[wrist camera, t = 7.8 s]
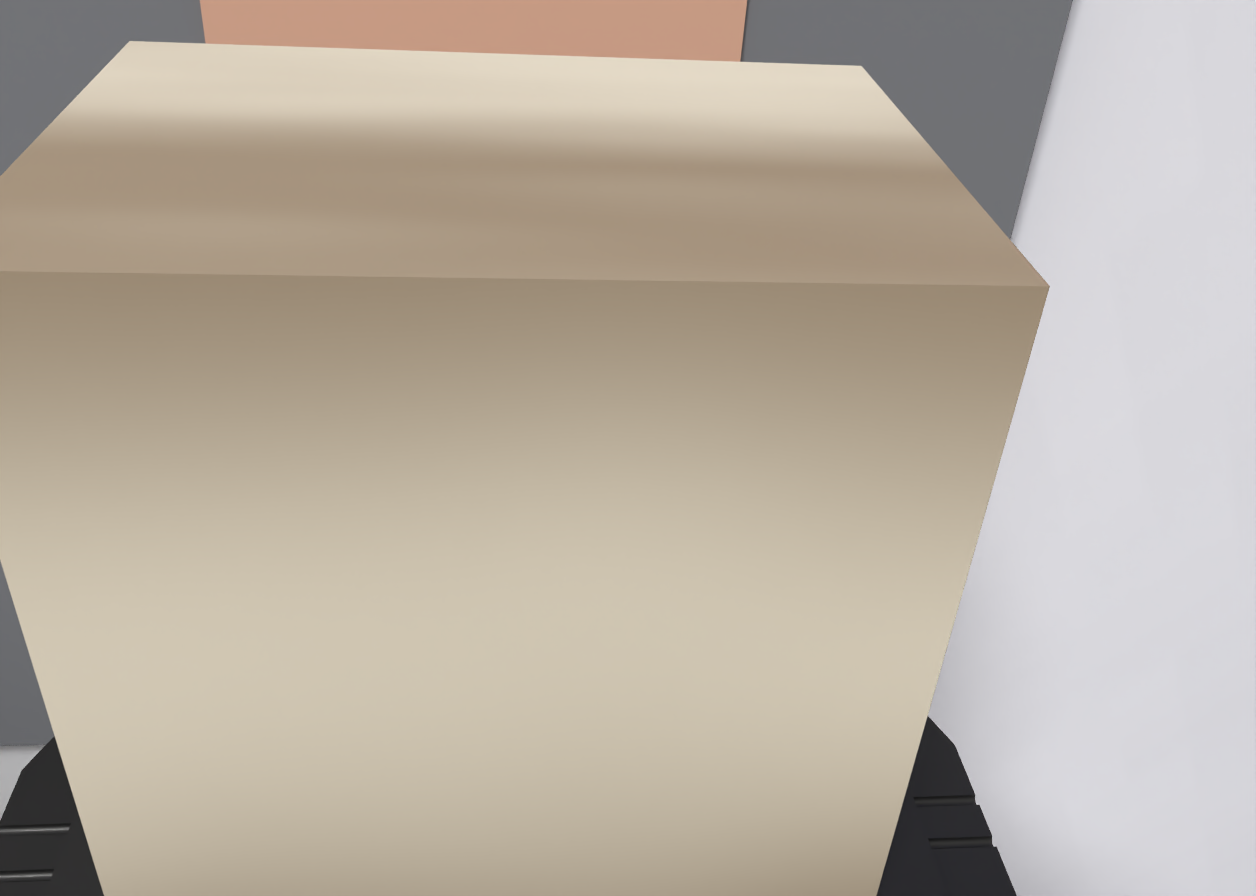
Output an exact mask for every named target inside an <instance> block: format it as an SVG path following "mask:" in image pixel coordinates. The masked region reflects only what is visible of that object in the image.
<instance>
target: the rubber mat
mask: <svg viewBox="0 0 1256 896" xmlns="http://www.w3.org/2000/svg"><path fill="white" fill-rule="evenodd" d="M1072 1H1073V0H0V176H1V175H2V174H3V173H4V172H5V171H6V170H7V169H8V168H9V167H10V165H11V164H12V163H13V162H14V161H15V160H16V159H17V158H18V157H19V156H20V155H21V154H22V153H23V152H24V151H25V150H26V149H27V148H28V147H29V146H30V145H31V144H32V143H33V141H34V140H35V139H36V138H37V137H38V136H39V135H40V134H41V133H42V132H43V131H44V130H45V129H46V128H47V127H48V126H49V125H50V124H51V123H52V122H53V121H54V120H55V118H56V117H57V116H58V115H59V114H60V113H61V112H62V111H63V110H64V109H65V108H66V107H67V106H68V105H69V104H70V103H71V102H72V101H73V100H74V99H75V98H76V97H77V95H78V94H79V93H80V92H81V91H82V90H83V89H84V88H85V87H86V86H87V85H88V84H89V83H90V82H91V81H92V80H93V79H94V78H95V77H96V76H97V75H98V74H99V72H100V71H101V70H102V69H103V68H104V67H105V66H106V65H107V64H108V63H109V62H110V61H111V60H112V59H113V58H114V57H115V56H116V55H117V54H118V53H119V52H120V51H121V49H122V48H123V47H124V46H125V45H126V44H127V43H128V42H129V41H145V42H174V43H204V44H233V45H262V46H292V47H321V48H351V49H380V50H409V51H439V52H468V53H498V54H527V55H556V56H586V57H615V58H644V59H674V60H703V61H733V62H762V63H791V64H821V65H850V66H862V67H863V68H864V69H865V71H866V72H867V73H868V74H869V75H870V76H871V78H872V79H873V80H874V81H875V82H876V83H877V85H878V86H879V87H880V88H881V89H882V90H883V92H884V93H885V94H886V95H887V96H888V98H889V99H890V100H891V101H892V102H893V103H894V105H895V106H896V107H897V108H898V109H899V110H900V112H901V113H902V114H903V115H904V116H905V117H906V119H907V120H908V121H909V122H910V123H911V124H912V126H913V127H914V128H915V129H916V130H917V131H918V133H919V134H920V135H921V136H922V137H923V139H924V140H925V141H926V142H927V143H928V144H929V146H930V147H931V148H932V149H933V150H934V151H935V153H936V154H937V155H938V156H939V157H940V158H941V160H942V161H943V162H944V163H945V164H946V165H947V167H948V168H949V169H950V170H951V171H952V172H953V174H954V175H955V176H956V177H957V178H958V180H959V181H960V182H961V183H962V184H963V185H964V187H965V188H966V189H967V190H968V191H969V192H970V194H971V195H972V196H973V197H974V198H975V199H976V201H977V202H978V203H979V204H980V205H981V206H982V208H983V209H984V210H985V211H986V212H987V213H988V215H989V216H990V217H991V218H992V219H993V221H994V222H995V223H996V224H997V225H998V226H999V228H1000V229H1001V230H1002V231H1003V232H1004V233H1005V235H1006V236H1007V237H1008V238H1009V239H1010V238H1011V234H1012V230H1013V227H1014V223H1015V219H1016V215H1017V211H1018V207H1019V204H1020V200H1021V196H1022V192H1023V188H1024V184H1025V181H1026V177H1027V173H1028V169H1029V165H1030V162H1031V158H1032V154H1033V150H1034V146H1035V142H1036V139H1037V135H1038V131H1039V127H1040V123H1041V119H1042V116H1043V112H1044V108H1045V104H1046V100H1047V96H1048V93H1049V89H1050V85H1051V81H1052V77H1053V73H1054V70H1055V66H1056V62H1057V58H1058V54H1059V50H1060V47H1061V43H1062V39H1063V35H1064V31H1065V27H1066V24H1067V20H1068V16H1069V12H1070V8H1071V4H1072ZM54 736H55V735H54V732H53V729H52V726H51V723H50V719H49V716H48V713H47V710H46V706H45V703H44V700H43V697H42V693H41V690H40V687H39V684H38V681H37V677H36V674H35V671H34V668H33V664H32V661H31V658H30V655H29V651H28V648H27V645H26V642H25V638H24V635H23V632H22V629H21V626H20V622H19V619H18V616H17V613H16V609H15V606H14V603H13V600H12V596H11V593H10V590H9V587H8V584H7V580H6V577H5V574H4V571H3V567H2V564H1V561H0V746H12V745H46V744H47V743H48V742H49V741H50V740H51V739H52V738H53V737H54Z"/></svg>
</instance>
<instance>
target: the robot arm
mask: <svg viewBox="0 0 1256 896" xmlns="http://www.w3.org/2000/svg"><path fill="white" fill-rule="evenodd" d="M0 896H104V894H103V891H102V887H101V884H100V881H99V878H98V875H97V871H96V868H95V865H94V862H93V858H92V855H91V852H90V849H89V845H88V842H87V839H86V836H85V832H84V829H83V826H82V823H81V820H80V816H79V813H78V810H77V807H76V803H75V800H74V797H73V794H72V790H71V787H70V784H69V781H68V778H67V774H66V771H65V768H64V765H63V761H62V758H61V755H60V752H59V748H58V745H57V742H56V739H55V736H54V737H53V738H52V739H51V740H50V741H49V742H48V743H47V744H46V745H45V746H44V748H43V749H42V750H41V751H40V752H39V753H38V754H37V755H36V756H35V757H34V758H33V759H32V760H31V761H30V762H29V763H28V764H27V765H26V767H25V768H24V769H23V770H22V771H21V774H20V776H19V778H18V781H17V783H16V785H15V788H14V790H13V792H12V795H11V797H10V799H9V802H8V804H7V806H6V809H5V811H4V813H3V816H2V818H1V820H0ZM876 896H1016V893H1015V891H1014V888H1013V886H1012V883H1011V881H1010V878H1009V876H1008V874H1007V871H1006V869H1005V866H1004V864H1003V861H1002V859H1001V857H1000V854H999V852H998V849H997V847H993V845H992V835H991V832H990V830H989V827H988V825H987V822H986V820H985V818H984V815H983V813H982V810H981V808H980V805H976V803H975V793H974V791H973V788H972V786H971V783H970V781H969V779H968V776H967V774H966V771H965V769H964V766H963V764H962V762H961V759H960V757H959V754H958V752H957V749H956V747H955V745H954V744H953V743H952V742H951V741H950V739H949V738H948V737H947V736H946V735H945V734H944V733H943V732H942V731H941V730H940V729H939V728H938V726H937V725H936V724H935V723H934V722H933V721H932V720H931V719H930V718H929V717H928V716H927V720H926V723H925V727H924V730H923V734H922V737H921V741H920V744H919V748H918V751H917V755H916V758H915V762H914V765H913V769H912V772H911V776H910V779H909V783H908V786H907V790H906V793H905V797H904V800H903V804H902V807H901V811H900V814H899V818H898V822H897V825H896V829H895V832H894V836H893V839H892V843H891V846H890V850H889V853H888V857H887V860H886V864H885V867H884V871H883V874H882V878H881V881H880V885H879V888H878V892H877V895H876Z"/></svg>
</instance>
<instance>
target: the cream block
mask: <svg viewBox="0 0 1256 896" xmlns="http://www.w3.org/2000/svg"><path fill="white" fill-rule="evenodd" d="M1049 287H1050V286H1049V285H1048V284H1047V283H1046V281H1045V280H1044V279H1043V278H1042V277H1041V276H1040V274H1039V273H1038V272H1037V271H1036V270H1035V269H1034V267H1033V266H1032V265H1031V264H1030V263H1029V262H1028V260H1027V259H1026V258H1025V257H1024V256H1023V254H1022V253H1021V252H1020V251H1019V250H1018V249H1017V247H1016V246H1015V245H1014V244H1013V243H1012V242H1011V240H1010V239H1009V238H1008V237H1007V236H1006V235H1005V233H1004V232H1003V231H1002V230H1001V229H1000V228H999V226H998V225H997V224H996V223H995V222H994V221H993V219H992V218H991V217H990V216H989V215H988V213H987V212H986V211H985V210H984V209H983V208H982V206H981V205H980V204H979V203H978V202H977V201H976V199H975V198H974V197H973V196H972V195H971V194H970V192H969V191H968V190H967V189H966V188H965V187H964V185H963V184H962V183H961V182H960V181H959V180H958V178H957V177H956V176H955V175H954V174H953V172H952V171H951V170H950V169H949V168H948V167H947V165H946V164H945V163H944V162H943V161H942V160H941V158H940V157H939V156H938V155H937V154H936V153H935V151H934V150H933V149H932V148H931V147H930V146H929V144H928V143H927V142H926V141H925V140H924V139H923V137H922V136H921V135H920V134H919V133H918V131H917V130H916V129H915V128H914V127H913V126H912V124H911V123H910V122H909V121H908V120H907V119H906V117H905V116H904V115H903V114H902V113H901V112H900V110H899V109H898V108H897V107H896V106H895V105H894V103H893V102H892V101H891V100H890V99H889V98H888V96H887V95H886V94H885V93H884V92H883V90H882V89H881V88H880V87H879V86H878V85H877V83H876V82H875V81H874V80H873V79H872V78H871V76H870V75H869V74H868V73H867V72H866V71H865V69H864V68H863V67H862V66H850V65H821V64H791V63H762V62H733V61H703V60H674V59H644V58H615V57H586V56H556V55H527V54H498V53H468V52H439V51H409V50H380V49H351V48H321V47H292V46H262V45H233V44H204V43H174V42H145V41H129V42H128V43H127V44H126V45H125V46H124V47H123V48H122V49H121V51H120V52H119V53H118V54H117V55H116V56H115V57H114V58H113V59H112V60H111V61H110V62H109V63H108V64H107V65H106V66H105V67H104V68H103V69H102V70H101V71H100V72H99V74H98V75H97V76H96V77H95V78H94V79H93V80H92V81H91V82H90V83H89V84H88V85H87V86H86V87H85V88H84V89H83V90H82V91H81V92H80V93H79V94H78V95H77V97H76V98H75V99H74V100H73V101H72V102H71V103H70V104H69V105H68V106H67V107H66V108H65V109H64V110H63V111H62V112H61V113H60V114H59V115H58V116H57V117H56V118H55V120H54V121H53V122H52V123H51V124H50V125H49V126H48V127H47V128H46V129H45V130H44V131H43V132H42V133H41V134H40V135H39V136H38V137H37V138H36V139H35V140H34V141H33V143H32V144H31V145H30V146H29V147H28V148H27V149H26V150H25V151H24V152H23V153H22V154H21V155H20V156H19V157H18V158H17V159H16V160H15V161H14V162H13V163H12V164H11V165H10V167H9V168H8V169H7V170H6V171H5V172H4V173H3V174H2V175H1V176H0V561H1V564H2V567H3V571H4V574H5V577H6V580H7V584H8V587H9V590H10V593H11V596H12V600H13V603H14V606H15V609H16V613H17V616H18V619H19V622H20V626H21V629H22V632H23V635H24V638H25V642H26V645H27V648H28V651H29V655H30V658H31V661H32V664H33V668H34V671H35V674H36V677H37V681H38V684H39V687H40V690H41V693H42V697H43V700H44V703H45V706H46V710H47V713H48V716H49V719H50V723H51V726H52V729H53V732H54V735H55V739H56V742H57V745H58V748H59V752H60V755H61V758H62V761H63V765H64V768H65V771H66V774H67V778H68V781H69V784H70V787H71V790H72V794H73V797H74V800H75V803H76V807H77V810H78V813H79V816H80V820H81V823H82V826H83V829H84V832H85V836H86V839H87V842H88V845H89V849H90V852H91V855H92V858H93V862H94V865H95V868H96V871H97V875H98V878H99V881H100V884H101V887H102V891H103V894H104V896H876V895H877V892H878V888H879V885H880V881H881V878H882V874H883V871H884V867H885V864H886V860H887V857H888V853H889V850H890V846H891V843H892V839H893V836H894V832H895V829H896V825H897V822H898V818H899V814H900V811H901V807H902V804H903V800H904V797H905V793H906V790H907V786H908V783H909V779H910V776H911V772H912V769H913V765H914V762H915V758H916V755H917V751H918V748H919V744H920V741H921V737H922V734H923V730H924V727H925V723H926V720H927V716H928V713H929V709H930V705H931V702H932V698H933V695H934V691H935V688H936V684H937V681H938V677H939V674H940V670H941V667H942V663H943V660H944V656H945V653H946V649H947V646H948V642H949V639H950V635H951V632H952V628H953V625H954V621H955V618H956V614H957V611H958V607H959V603H960V600H961V596H962V593H963V589H964V586H965V582H966V579H967V575H968V572H969V568H970V565H971V561H972V558H973V554H974V551H975V547H976V544H977V540H978V537H979V533H980V530H981V526H982V523H983V519H984V516H985V512H986V509H987V505H988V502H989V498H990V494H991V491H992V487H993V484H994V480H995V477H996V473H997V470H998V466H999V463H1000V459H1001V456H1002V452H1003V449H1004V445H1005V442H1006V438H1007V435H1008V431H1009V428H1010V424H1011V421H1012V417H1013V414H1014V410H1015V407H1016V403H1017V400H1018V396H1019V392H1020V389H1021V385H1022V382H1023V378H1024V375H1025V371H1026V368H1027V364H1028V361H1029V357H1030V354H1031V350H1032V347H1033V343H1034V340H1035V336H1036V333H1037V329H1038V326H1039V322H1040V319H1041V315H1042V312H1043V308H1044V305H1045V301H1046V298H1047V294H1048V291H1049Z"/></svg>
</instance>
